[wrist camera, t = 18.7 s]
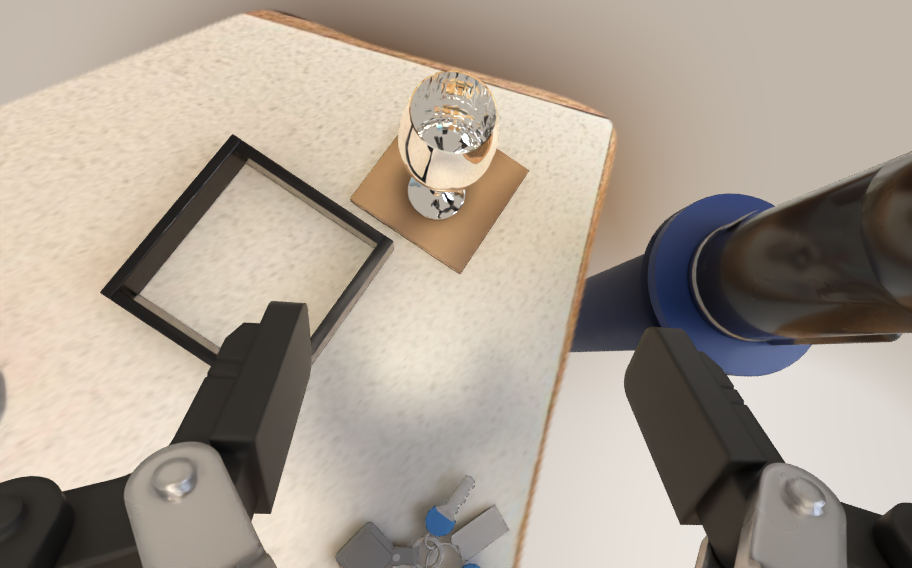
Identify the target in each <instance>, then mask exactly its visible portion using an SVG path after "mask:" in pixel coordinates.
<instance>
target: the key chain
mask: <svg viewBox="0 0 912 568" xmlns="http://www.w3.org/2000/svg"><path fill="white" fill-rule="evenodd" d="M474 483H475V481H474V480H473V478H472V477H471V476H467V475H466V476H465V478H464V479H463V480H462V482H461V483H460V484H459V486H458V487H457V489H456V490H455V491H454V493H453V494H452V496H451V497H450V498H449V500H448V501H447V502H446V504H445V505H442V506H437V507H436V506H434V507H433V508H431V509H430V510H429V511H428V514H427V516H426V519H425V520H426V528H427V529H428V531H429V533H428V534H427V535H426V536H422V537H420V538H419V539H417V540H416V541H415V542H414V544H413V545H412V546H393V544H392V543H391V542H390V541H389V540H388V539H387V538H386V537H385V536H384V535H383V534H382V532H381V531H380V530H379V529H378V528H377V527H376V526H375V525H374V524H373V523H371V522H369V523H367V524H366V525H365V526H364V527H363V528H362V529H361V530H360V531H359V532H358V533H357V534H356V535H355V536H354V537H353V538H352V539H351V540H350V541H349V542H348V543H347V544H346V545H345V546H344V547H343V548H342V549H341V550H340V551H339V552H338V553H337V554H336V557H335V559H336V561H337V562H338V563H339V564H340V566H341V567H342V568H392V567H393V566H396V565H414V566H415V567H416V568H436V567H437V566H438V565H439V564H440V562H441V560H442V558H443V548H442V545H449V546H452V547H454V548H455V550H456V552H457V554H458V555H459V556H460V558H461V560H462V568H480V567H479V566H477V565H476V564H467V565H464V560H465V561H467V560H469V559H470V558H472V557H473V556H474V555H476V554H477V553H478V552H480V551H481V550H483V549H484V548H485V547H487V546H488V545H489V544H491V543H492V542H494V541H495V540H496V539H498V538H499V537H500V536H502V535H503V534H505V533H506V532H507V531H509V529H508V527H507V525H506V523H505V522H504V520H503V518H502V516H501V515H500V513H499V511H498V509H497V508H496V506H495V505H494V506H492V507H491V508H489V509H488V510H487V511H485V512H484V513H482V514H481V515H479V516H478V517H477V518H475V519H474V520H472V521H471V522H470V523H468V524H467V525H465V526H464V527H463V528H461V529H460V530H458V531H457V532H455V533H454V534H453V535H452V537H451V542H452V544H451V543H448V542H447V543H440V542H439V541H438V537H439V536H444V535H447V534H448V533H449V532H450V531H451V530H453V527H454V525H455V522H456V521H455V520H454V513H455V514H457V513H458V511H457V510H458V509H459V507H458V505H459V504H460V505H462V503H465V501H466V500H465V499H464V497H465V496H466V497H467V496H468V495H469V494H468V493H467V492H468V491H469V490H470V488H472V489H473V488H474V487H475V486H474V485H473V484H474ZM453 512H454V513H453ZM430 534H432V535H434V536H435V537H436V538H434V537H432V536H429V535H430ZM437 536H438V537H437ZM423 541H424V544H425V546H426V547H427V548H428V549H431V550H430V552H429V554H428V555H427V557H426V563H425V566H423V565H420V564H419V563H418V544H420V543H421V542H423ZM426 541H431V542H433V543H434V546H432V547H429V546H428V545H427V543H426ZM456 545H457V546H458V548H459V549H460V550H459V549H458V548H457V546H456ZM435 548H438V558H437V560H436V561H435V563H433V564H432V565H430V566H427V564H428V558H429V556H430V554H431V553H432V551H433V550H434V549H435Z"/></svg>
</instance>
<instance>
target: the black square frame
mask: <svg viewBox="0 0 912 568" xmlns="http://www.w3.org/2000/svg"><path fill="white" fill-rule="evenodd" d="M245 163H247V164H249V165H250V166H252V167H253V168H255V169H256V170H258V171H259V172H261V173H262V174H264V175H265V176H267V177H268V178H270V179H271V180H273V181H274V182H276V183H277V184H279V185H280V186H282V187H283V188H285V189H286V190H288V191H289V192H291V193H292V194H294V195H295V196H297V197H298V198H300V199H301V200H303V201H304V202H306V203H307V204H309V205H310V206H312V207H313V208H315V209H316V210H318V211H319V212H321V213H322V214H324V215H325V216H327V217H328V218H330V219H331V220H333V221H334V222H336V223H337V224H339V225H340V226H342V227H343V228H345V229H346V230H348V231H349V232H351V233H352V234H354V235H355V236H357V237H358V238H360V239H361V240H363V241H364V242H366V243H367V244H369V245H370V246H372V247H373V248H375V249H374V250H373V252H372V253H371V254H370V256H369V257H368V258H367V260H366V261H365V263H364V264H363V265H362V267H361V268H360V270H359V271H358V272H357V274H356V275H355V277H354V278H353V279H352V281H351V282H350V284H349V285H348V286H347V288H346V289H345V291H344V292H343V293H342V295H341V296H340V298H339V299H338V300H337V302H336V303H335V304H334V306H333V307H332V309H331V310H330V311H329V313H328V314H327V316H326V317H325V318H324V320H323V321H322V323H321V324H320V325H319V327H318V328H317V330H316V331H315V332H314V334H313V335H312V337H311V338H310V339H311V351H312V360H311V366H312V364H313V363H314V362H315V360H316V359H317V357H318V356H319V355H320V353H321V352H322V350H323V349H324V348H325V346H326V345H327V343H328V342H329V340H330V339H331V338H332V336H333V335H334V333H335V332H336V331H337V329H338V328H339V326H340V325H341V323H342V322H343V321H344V319H345V318H346V316H347V315H348V314H349V312H350V311H351V309H352V308H353V307H354V305H355V304H356V302H357V301H358V299H359V298H360V297H361V295H362V294H363V292H364V291H365V290H366V288H367V287H368V285H369V284H370V283H371V281H372V280H373V278H374V277H375V275H376V274H377V273H378V271H379V270H380V268H381V267H382V266H383V264H384V263H385V261H386V260H387V258H388V257H389V256H390V254H391V253H392V251H393V250H394V244H393V241H392V240H391V239H389V238H388V237H386V236H384V235H383V234H382V233H380V232H379V231H377V230H376V229H374V228H373V227H371V226H370V225H368V224H367V223H365V222H364V221H362V220H361V219H359V218H358V217H356V216H355V215H353V214H352V213H350V212H349V211H347V210H346V209H344V208H343V207H341V206H340V205H338V204H337V203H335V202H334V201H332V200H331V199H329V198H328V197H326V196H325V195H323V194H322V193H320V192H319V191H317V190H316V189H314V188H313V187H311V186H310V185H308V184H307V183H305V182H304V181H302V180H301V179H299V178H298V177H296V176H295V175H293V174H292V173H290V172H289V171H287V170H286V169H284V168H283V167H281V166H280V165H278V164H277V163H275V162H274V161H272V160H271V159H269V158H268V157H266V156H265V155H263V154H262V153H260V152H259V151H257V150H256V149H254V148H253V147H251V146H250V145H248V144H247V143H245V142H244V141H242V140H241V139H239V138H238V137H236V136H235V135H233V134H232V135H231V136H230V138H229V139H228V140H227V141H226V142H225V144H224V145H223V146H222V147H221V148H220V150H219V151H218V152H217V153H216V154H215V156H214V157H213V158H212V159H211V160H210V161H209V163H208V164H207V165H206V166H205V167H204V169H203V170H202V171H201V172H200V173H199V175H198V176H197V177H196V178H195V179H194V181H193V182H192V183H191V184H190V185H189V187H188V188H187V189H186V190H185V191H184V193H183V194H182V195H181V196H180V197H179V199H178V200H177V201H176V202H175V203H174V205H173V206H172V207H171V208H170V209H169V210H168V212H167V213H166V214H165V215H164V216H163V218H162V219H161V220H160V221H159V222H158V224H157V225H156V226H155V227H154V228H153V230H152V231H151V232H150V233H149V234H148V236H147V237H146V238H145V239H144V240H143V242H142V243H141V244H140V245H139V246H138V248H137V249H136V250H135V251H134V252H133V253H132V255H131V256H130V257H129V258H128V259H127V261H126V262H125V263H124V264H123V265H122V267H121V268H120V269H119V270H118V271H117V273H116V274H115V275H114V276H113V277H112V279H111V280H110V281H109V282H108V283H107V285H106V286H105V287H104V288H103V289H102V291H101V292H100V293H101V294H103V295H104V296H106V297H107V298H109V299H111V300H112V301H113V302H115V303H116V304H118V305H119V306H121V307H122V308H124V309H125V310H127V311H128V312H130V313H131V314H133V315H134V316H136V317H137V318H139V319H140V320H142V321H143V322H145V323H146V324H148V325H149V326H151V327H152V328H154V329H155V330H157V331H158V332H160V333H162V334H163V335H165V336H166V337H168V338H169V339H171V340H172V341H174V342H175V343H177V344H178V345H180V346H181V347H183V348H184V349H186V350H187V351H189V352H190V353H192V354H193V355H195V356H196V357H198V358H199V359H201V360H202V361H204V362H205V363H207V364H208V365H210V366H211V365H212V363H213V361H215V360H216V356H217V354H218V352H219V350H220V348H219V347H217V346H216V345H214V344H213V343H211V342H210V341H208V340H207V339H205V338H204V337H202V336H201V335H199V334H198V333H196V332H195V331H193V330H192V329H190V328H189V327H187V326H186V325H184V324H183V323H181V322H180V321H178V320H177V319H175V318H173V317H172V316H170V315H169V314H167V313H166V312H164V311H163V310H161V309H160V308H158V307H157V306H155V305H154V304H152V303H151V302H149V301H148V300H146V299H145V298H143V297H142V296H140V295H138V294H139V293H140V291H141V290H142V289H143V288H144V286H145V285H146V284H147V283H148V282H149V280H150V279H151V278H152V277H153V275H154V274H155V273H156V272H157V271H158V269H159V268H160V267H161V266H162V264H163V263H164V262H165V261H166V260H167V258H168V257H169V256H170V255H171V253H172V252H173V251H174V250H175V249H176V247H177V246H178V245H179V244H180V242H181V241H182V240H183V239H184V238H185V236H186V235H187V234H188V233H189V231H190V230H191V229H192V228H193V227H194V225H195V224H196V223H197V222H198V220H199V219H200V218H201V217H202V216H203V214H204V213H205V212H206V211H207V209H208V208H209V207H210V206H211V205H212V203H213V202H214V201H215V200H216V198H217V197H218V196H219V195H220V194H221V192H222V191H223V190H224V189H225V187H226V186H227V185H228V184H229V183H230V181H231V180H232V179H233V178H234V176H235V175H236V174H237V173H238V172H239V170H240V169H241V168H242V167H243V165H244V164H245Z"/></svg>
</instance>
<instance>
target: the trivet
mask: <svg viewBox="0 0 912 568" xmlns="http://www.w3.org/2000/svg"><path fill="white" fill-rule="evenodd" d="M528 172H529V170H528V169H526V168H525V167H523V166H522V165H520V164H519V163H517V162H516V161H514V160H513V159H511V158H510V157H508V156H507V155H505V154H504V153H502V152H501V151H499V150H498V149H496V152H495V156H494V158H493V161H492V163H491V165H490V167H489V169H488V170H487V172H486V173H485V174H484V175H483V176H482V177H481V179H479V180H478V181H477V182H476V183H475V184H473V185H472V186H470V187H468V188H466V189H465V190H466V196H465V201H464V203H463V205H462V207H461V209H460V210H459V211H458V212H457V213H456V214H454V215H453V216H452V217H449V218H447V219H442V220H433V219H429V218H426V217H424V216H422V215H420V214H419V213H418V212H417V211H415V209H414V208H413V207H412V205H411V203H410V201H409V198H408V184H409V181H410V179H411V177H412V176H411V175H410V174H409V173H408V171H407V170H406V168H405V166H404V164H403V161H402V159H401V156H400V152H399V147H398V136H397V137H396V138H395V140H394V141H393V142H392V144H391V145H390V146H389V148H388V149H387V150H386V152H385V153H384V154H383V156H382V157H381V158H380V160H379V161H378V162H377V164H376V165H375V166H374V168H373V169H372V170H371V172H370V173H369V174H368V176H367V177H366V178H365V180H364V181H363V182H362V184H361V185H360V186H359V188H358V189H357V190H356V192H355V193H354V194H353V196H352V197H351V198H350V200H351V202H353V203H354V204H356V205H357V206H359V207H360V208H362V209H363V210H365V211H366V212H368V213H369V214H371V215H372V216H374V217H375V218H377V219H378V220H380V221H381V222H383V223H384V224H386V225H387V226H389V227H390V228H391V229H393V230H394V231H396V232H397V233H399V234H400V235H402V236H403V237H405V238H406V239H408V240H409V241H411V242H412V243H414V244H415V245H417V246H418V247H420V248H421V249H423V250H424V251H426V252H427V253H429V254H430V255H432V256H433V257H435V258H436V259H438V260H439V261H441V262H442V263H444V264H445V265H447V266H448V267H450V268H451V269H453V270H454V271H456V272H457V273H459V274H461V272H462V271H463V269H464V268H465V266H466V265H467V263H468V262H469V260H470V259H471V257H472V256H473V254H474V253H475V251H476V250H477V248H478V247H479V245H480V244H481V242H482V241H483V239H484V238H485V236H486V235H487V233H488V232H489V230H490V229H491V227H492V226H493V224H494V223H495V221H496V220H497V218H498V217H499V215H500V214H501V212H502V211H503V209H504V208H505V206H506V205H507V203H508V202H509V200H510V199H511V197H512V196H513V194H514V193H515V191H516V190H517V188H518V187H519V185H520V184H521V182H522V181H523V179H524V178H525V176H526V175H527V173H528Z"/></svg>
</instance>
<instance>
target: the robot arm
mask: <svg viewBox="0 0 912 568" xmlns="http://www.w3.org/2000/svg"><path fill="white" fill-rule="evenodd" d="M756 211H757V210H756ZM754 212H755V211H754ZM754 212H751V213H749V214H746V215H744V216H742V217H741V218H739V219H737V220H736V221H734V222H732V223H729V224H727V225H724V226H722V227H719V228H717V229H715V230H713V231H711V232H709V233H708V234H707V235H705V236H704V237H703V238H702V239H701V240H700V241H699V243H698V244H697V245H696V247H695V248H694V250H693V252H692V254H691V257H690V260H689V264H688V271H687V282H688V289H689V293H690V296H691V299H692V302H693V304H694V306H695V308H696V310H697V311H698V313H699V314H700V316H701V317H702V318H703V320H704V321H705V322H706V323H707V324H708V325H709V326H710V327H712V328H713V329H714V330H715V331H717V332H718V333H720V334H722V335H724V336H726V337H728V338H731V339H734V340H737V341H744V342H756V341H766V342H767V343H769V344H770V345H772V346H780V345H812V344H841V343H842V344H843V343H875V342H892V341H895V340H897V339H898V338H900V336H901V335H902V333H912V151H911V152H909V153H906V154H904V155H901V156H899V157H896V158H894V159H892V160H889V161H887V162H884V163H882V164H879V165H877V166H875V167H872V168H869V169H867V170H864V171H862V172H859V173H857V174H854V175H852V176H849V177H847V178H844V179H842V180H839V181H837V182H834V183H832V184H829V185H827V186H825V187H822V188H819V189H817V190H815V191H812V192H810V193H807V194H805V195H802V196H800V197H797V198H795V199H792V200H790V201H787V202H785V203H782V204H780V205H777V206H775V207H772V208H770V209H767V210H765V211H762V212H760V213H757V214H755V215H752V216H750V217H747V216H749V215H750V214H752V213H754ZM745 217H747V218H745ZM744 218H745V219H744ZM311 360H312V351H311V339H310V328H309V317H308V308H307V305H306V303H294V302H278V301H271V302H270V303H269V305H268V307H267V309H266V311H265V313H264V316H263V318H262V320H261V322H260V324H259V323H243V324H242V325H241V326H239V327H238V328H237V329H236V330H235V331H234V332H232V333H231V334H230V335H229V336H228V337H227V338H225V340H224V342H223V344H222V346H221V348H220V350H219V352H218V354H217V356H216V360H215V361H213V363H212V365H211V367H210V369H209V371H208V375H207V377H205V379H204V381H203V383H202V385H201V386H200V388H199V390H198V392H197V394H196V396H195V398H194V400H193V402H192V404H191V406H190V408H189V410H188V412H187V413H186V415H185V417H184V419H183V421H182V423H181V425H180V427H179V429H178V431H177V433H176V435H175V437H174V438H173V440H172V441H171V443H170V444H169V446H167V447H165V448H162V449H160V450H158V451H157V452H155V453H153V454H152V455H150V456H149V457H147V458H146V459H145V460H144V461H143V462H141V463H140V464H139V466H138V467H137V468H136V469H135V470H134V471H133V473H131V474H128V475H126V476H123V477H120V478H116V479H113V480H108V481H104V482H100V483H96V484H92V485H88V486H84V487H80V488H76V489H71V490H67V491H63V492H62V491H61V489H60V488H59V487H58V485H57V484H56V483H55V482H53V481H52V480H50V479H48V478H44V477H38V476H28V477H20V478H15V479H11V480H8V481H5V482H2V483H0V568H277V567H276V565H275V563H274V561H273V560H272V558H271V556H270V555H269V554H267V553H266V551H265V550H264V548H263V546H262V544H261V542H260V540H259V538H258V536H257V533H256V531H255V529H254V527H253V525H252V523H251V521H252V518H253V515H254V514H271V511H272V507H273V504H274V500H275V497H276V493H277V490H278V486H279V483H280V479H281V475H282V472H283V468H284V465H285V461H286V458H287V454H288V451H289V447H290V444H291V440H292V437H293V433H294V430H295V426H296V422H297V419H298V415H299V412H300V408H301V405H302V401H303V398H304V394H305V391H306V387H307V384H308V380H309V376H310V370H311ZM624 388H625V393H626V396H627V398H628V401H629V403H630V406H631V408H632V411H633V413H634V415H635V418H636V420H637V422H638V425H639V427H640V430H641V432H642V434H643V437H644V439H645V441H646V444H647V446H648V449H649V451H650V453H651V456H652V458H653V461H654V463H655V465H656V467H657V470H658V472H659V475H660V477H661V480H662V482H663V484H664V487H665V489H666V492H667V494H668V496H669V498H670V501H671V503H672V506H673V508H674V510H675V513H676V515H677V518H678V520H679V522H680V524H681V525H703V528H704V530H705V532H706V534H707V535H706V537H705V538H704V539H703V540H702V542H701V545H700V549H699V553H698V557H697V561H696V565H695V568H912V503H900V504H897V505H896V506H894V507H893V508H892V509H891V510H889V511H888V512H887V513H886V514H884V515H880V514H877V513H873V512H870V511H867V510H864V509H861V508H858V507H855V506H852V505H848V504H845V503H842V502H840V501H839V500H838V498H837V497H836V495H835V494H834V493H833V492H832V491H831V490H830V489H829V488H828V487H827V486H826V485H825V484H824V483H823V482H822V481H821V480H819V479H818V478H817V477H815V476H814V475H812V474H811V473H809V472H807V471H806V470H804V469H801V468H799V467H797V466H794V465H791V464H786V463H785V462H784V460H783V459H782V457H781V456H780V454H779V453H778V451H777V450H776V448H775V447H774V445H773V444H772V442H771V441H770V439H769V438H768V436H767V435H766V433H765V432H764V430H763V429H762V427H761V426H760V424H759V423H758V421H757V420H756V418H755V417H754V415H753V414H752V412H751V411H750V409H749V408H748V407H747V405H744V400H743V399H742V397H741V396H740V394H739V393H738V392H737V390H734V385H733V384H732V383H731V381H730V379H729V378H728V376H727V375H726V373H725V372H724V370H723V369H722V368H721V367H720V366H719V365H718V364H717V363H716V362H715V361H713V360H712V359H711V358H710V357H709V356H708V355H707V354H705V353H704V352H703V351H698V350H697V348H696V347H695V345H694V344H693V342H692V340H691V339H690V337H689V336H688V334H687V333H686V332H685V331H684V330H683V329H678V328H663V327H649V328H647V329H646V330H645V332H644V333H643V335H642V337H641V340H640V342H639V344H638V346H637V348H636V350H635V352H634V355H633V357H632V359H631V361H630V363H629V365H628V367H627V370H626V373H625V378H624Z"/></svg>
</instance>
